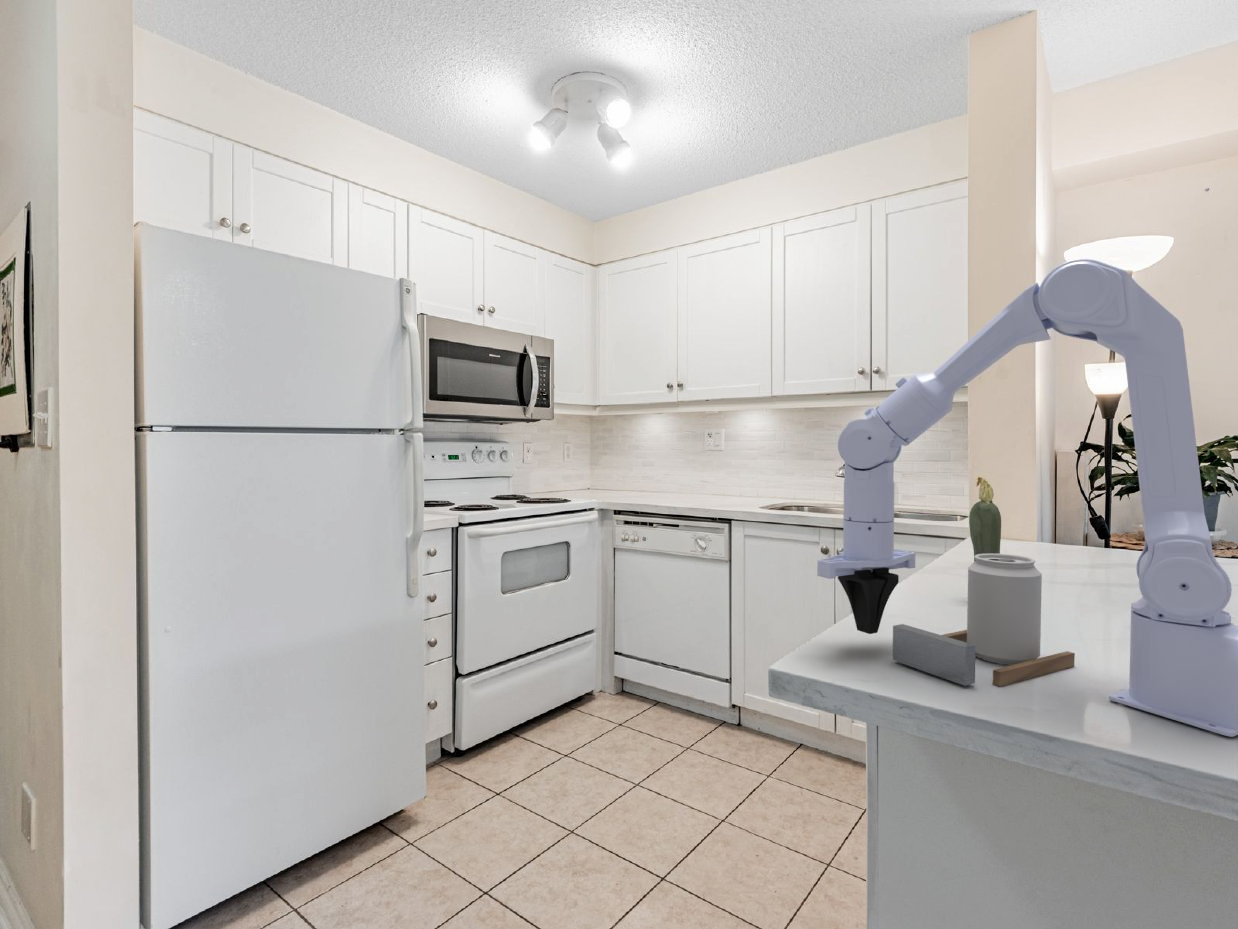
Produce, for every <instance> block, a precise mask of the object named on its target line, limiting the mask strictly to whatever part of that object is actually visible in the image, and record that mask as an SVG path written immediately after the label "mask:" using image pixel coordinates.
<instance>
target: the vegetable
mask: <svg viewBox="0 0 1238 929" xmlns="http://www.w3.org/2000/svg"><path fill="white" fill-rule="evenodd" d="M979 485H980V486H979ZM975 486H976V487H978V490H979V491H978V493H979V494H978V500H979V501H977V502H976V503H974V504H973V506H972V507H971V509H970V510H969V511H970V512H969V514H968V515H969V516H968V517H969V518H968V519H969V520H968V521H969V522H968V523H969V526H968V527H969V533H970V534H969V535H970V540H971V543H972V549H973V563H974V562H975V561H976V559H975V558H974V556H975V555H977V554H988V553H989V554H1001V538H1002V515H1001V512H1000V510H999V507H998V506H997V505H996V504H995V503H994V502H993V499H994V490H993V488H992V486H991V484H990V483H989V482H988V480H986V479H985V478H984V477H982V476H978V477H977V481H976V485H975Z"/></svg>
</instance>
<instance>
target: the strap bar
mask: <svg viewBox="0 0 1238 929" xmlns="http://www.w3.org/2000/svg"><path fill="white" fill-rule="evenodd" d="M942 635H943V634H938V633H935V632H932V631H928V630H925V629H921V628H917V627H914V626H911V625H907V624H904V623H900V624H896V625H895V624H894V625H893V626H892V661H894V662H897V663H899V664H902V665H904V666H908V667H910V668H913V669H914V668H915V669H917V670H919V671H922V672H925V673H928V674H930V675H934V676H936V677H939V678H941V679H945V680H948V681H951V682H953V683H956V684H958V685H962V686H969V685H973V684H975V683H976V655H975V648H976V645H973V644H970V643H966V642H963V641H959V640H956V639H953V638H949V637H946V636H942Z"/></svg>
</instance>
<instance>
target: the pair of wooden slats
mask: <svg viewBox="0 0 1238 929" xmlns="http://www.w3.org/2000/svg"><path fill="white" fill-rule="evenodd" d="M941 635H942V636H946V637H949V638H953V639H956V640H959V641H963V642H966V643H967V629H965V630H964V629H963V630H960V631H959V630H958V631H955V632H948V633H944V634H941ZM1075 657H1076V656H1075V652H1072V651H1068V650H1067V651H1062V652H1058V653H1054V654H1050V655H1046V656H1043V657H1038V658H1037V659H1034V660H1030V661H1026V662H1022V663H1018V664H1014V665H1005V666H1004V667H1000V668H995V669H992V685H994V686H998V687H1004V686H1006V685H1011V684H1014V683H1018V682H1021V681H1025V680H1029V679H1033V678H1036V677H1040V676H1043V675H1047V674H1050V673H1054V672H1058V671H1062V670H1066V669H1070V668H1073V667H1075Z"/></svg>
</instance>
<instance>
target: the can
mask: <svg viewBox="0 0 1238 929" xmlns="http://www.w3.org/2000/svg"><path fill="white" fill-rule="evenodd" d="M974 558H975V559H976V561H975V562H974V561H973V562H972V563H971V564H970V565H969V566H968V567H967V606H966V607H967V611H966V612H967V614H966V615H967V616H966V619H967V621H966V623H967V624H966V625H967V626H966V630H967V643H970V644H973V645H976V648H975V657H976V658H979V659H981V658H982V659H981V660H983V659H984V660H983V661H986V660H987V662H990V661H991V663H994V662H995V664H1000V665H1006V664H1008V665H1007V666H1010V665H1014V664H1018V663H1022V662H1026V661H1030V660H1034V659H1038V658H1040V656H1041V635H1042V634H1041V633H1042V632H1041V629H1042V628H1041V627H1042V626H1041V623H1042V589H1043V588H1042V584H1043V583H1042V582H1043V581H1042V579H1043V578H1042V577H1043V573H1041V572H1040V570H1039V569H1038V568H1037V567H1036V566H1035V563H1036V560H1035V559H1034V558H1031V557H1028V556H1023V555H1016V554H1008V553H1007V554H1006V553H1000V554H989V553H988V554H977V555H975V556H974V555H973V559H974Z"/></svg>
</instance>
